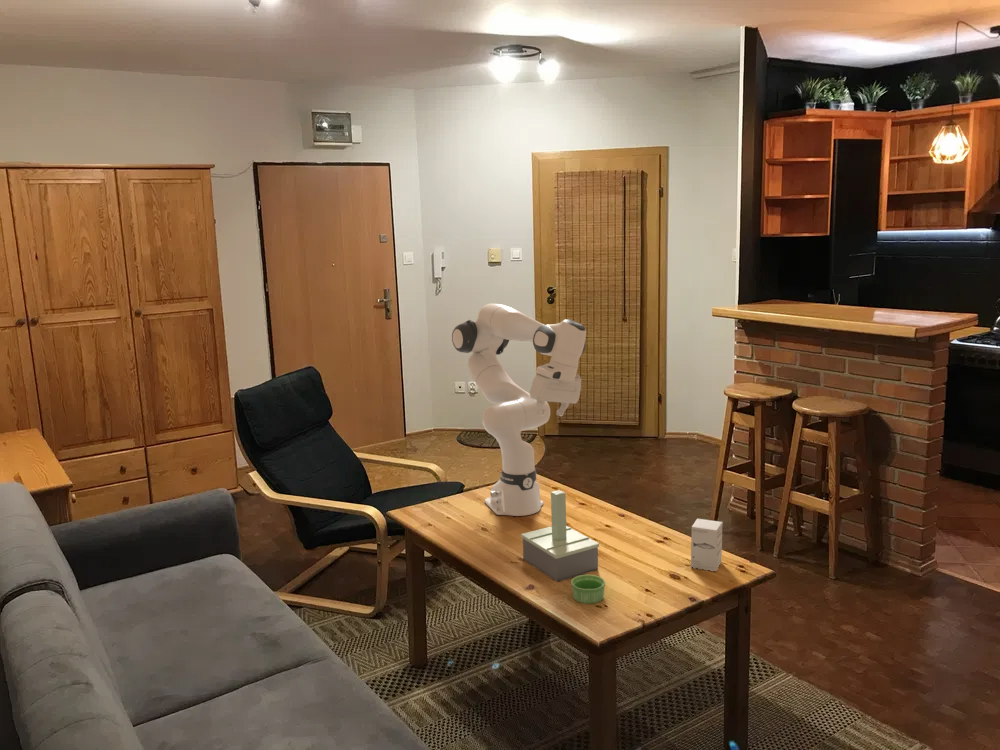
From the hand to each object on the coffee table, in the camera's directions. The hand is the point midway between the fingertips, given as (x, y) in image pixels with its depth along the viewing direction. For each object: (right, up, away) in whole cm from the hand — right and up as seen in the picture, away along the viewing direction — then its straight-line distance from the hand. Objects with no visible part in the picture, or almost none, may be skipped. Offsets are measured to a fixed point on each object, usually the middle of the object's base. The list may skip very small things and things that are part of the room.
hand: (549, 414), depth 247 cm
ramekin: (+8, -47, -37) cm, 60 cm away
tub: (+2, -43, -17) cm, 46 cm away
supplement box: (+43, -42, -21) cm, 64 cm away
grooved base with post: (+2, -36, -18) cm, 40 cm away
